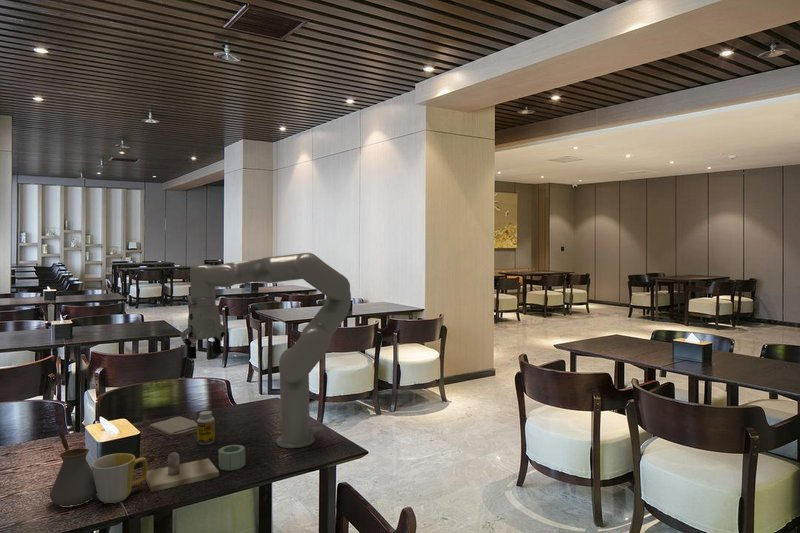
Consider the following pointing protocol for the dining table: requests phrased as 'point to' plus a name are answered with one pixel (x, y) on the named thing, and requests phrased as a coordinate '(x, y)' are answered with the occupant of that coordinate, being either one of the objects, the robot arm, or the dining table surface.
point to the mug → (116, 476)
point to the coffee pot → (73, 477)
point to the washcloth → (175, 427)
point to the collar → (231, 457)
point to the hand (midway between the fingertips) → (204, 355)
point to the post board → (180, 473)
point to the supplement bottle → (205, 428)
